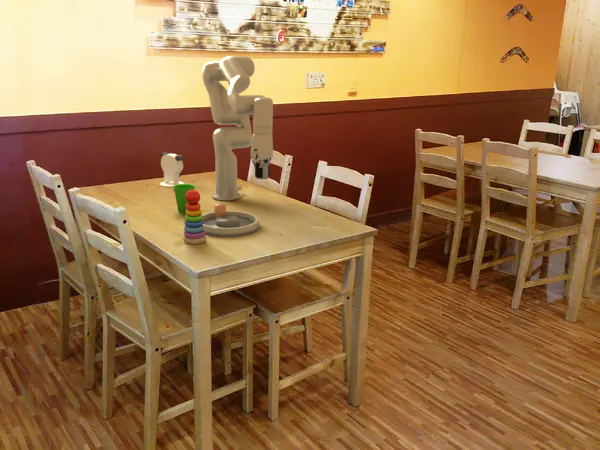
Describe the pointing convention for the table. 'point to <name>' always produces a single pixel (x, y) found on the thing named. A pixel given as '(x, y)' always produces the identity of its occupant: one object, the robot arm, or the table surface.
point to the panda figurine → (171, 169)
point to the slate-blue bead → (264, 170)
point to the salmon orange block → (219, 210)
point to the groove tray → (230, 224)
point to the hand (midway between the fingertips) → (262, 175)
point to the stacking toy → (193, 219)
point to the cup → (182, 196)
